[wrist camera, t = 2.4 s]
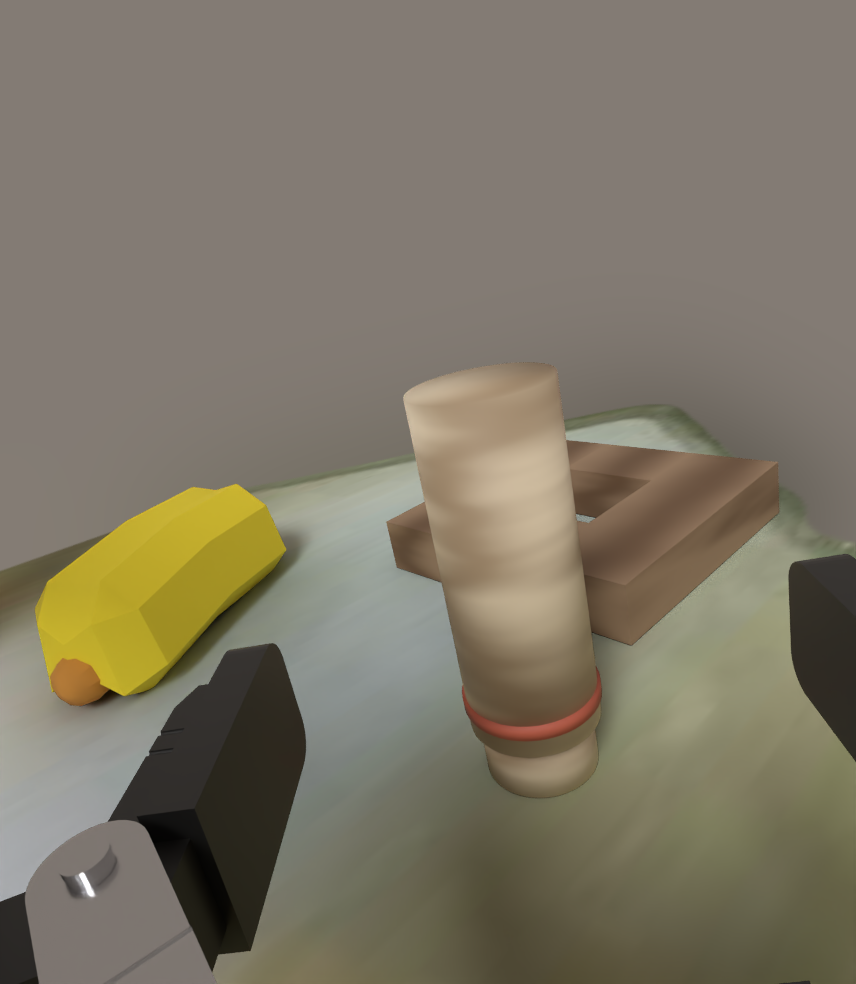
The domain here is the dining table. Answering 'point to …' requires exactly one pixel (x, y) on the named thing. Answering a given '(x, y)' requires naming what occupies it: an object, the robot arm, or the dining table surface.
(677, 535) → the board
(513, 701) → the peg
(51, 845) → the dining table surface
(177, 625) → the low-poly banana
